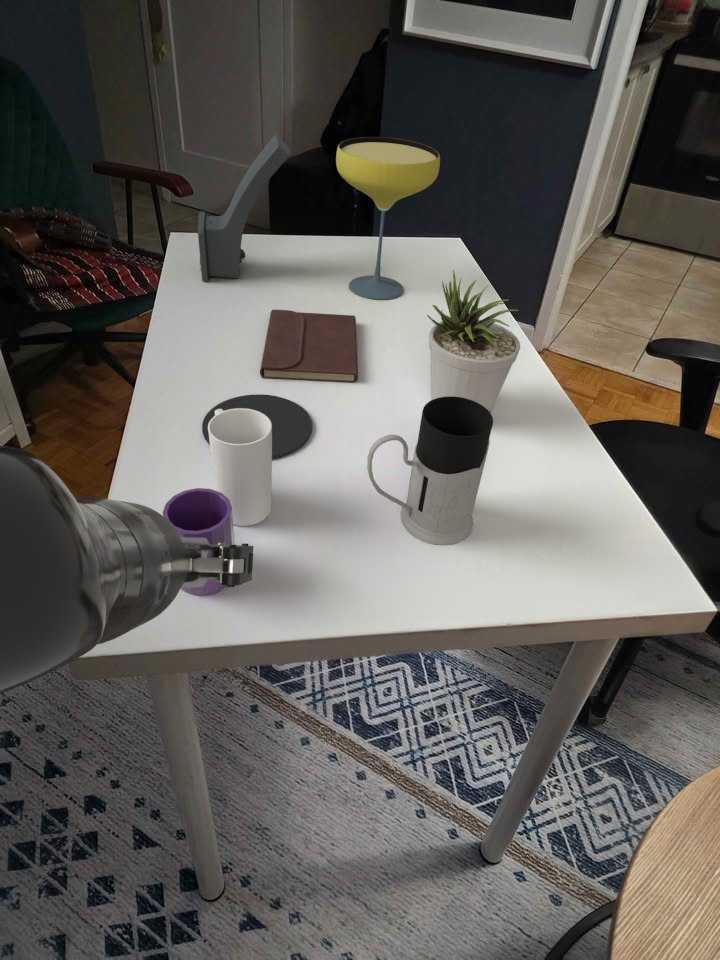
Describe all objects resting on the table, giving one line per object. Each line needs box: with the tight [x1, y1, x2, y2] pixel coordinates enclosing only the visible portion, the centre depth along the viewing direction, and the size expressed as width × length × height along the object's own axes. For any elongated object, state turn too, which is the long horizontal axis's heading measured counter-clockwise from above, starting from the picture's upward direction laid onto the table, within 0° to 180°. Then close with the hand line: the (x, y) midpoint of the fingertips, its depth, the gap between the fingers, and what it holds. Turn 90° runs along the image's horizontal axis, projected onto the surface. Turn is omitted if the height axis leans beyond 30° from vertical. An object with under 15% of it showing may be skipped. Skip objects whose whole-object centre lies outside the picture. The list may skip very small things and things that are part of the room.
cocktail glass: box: [335, 136, 441, 301], centre depth 119 cm, size 18×18×25 cm
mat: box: [201, 393, 313, 460], centre depth 89 cm, size 15×15×1 cm
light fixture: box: [197, 134, 291, 282], centre depth 121 cm, size 11×17×24 cm, turn 99°
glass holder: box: [366, 396, 494, 546], centre depth 72 cm, size 9×14×15 cm, turn 111°
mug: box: [208, 408, 273, 527], centre depth 74 cm, size 10×7×12 cm, turn 35°
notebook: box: [259, 309, 359, 383], centre depth 106 cm, size 15×20×2 cm
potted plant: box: [426, 269, 521, 413], centre depth 90 cm, size 13×14×20 cm
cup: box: [162, 487, 236, 596], centre depth 66 cm, size 6×6×9 cm
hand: (167, 557), depth 51 cm, fingers open, 8 cm apart
